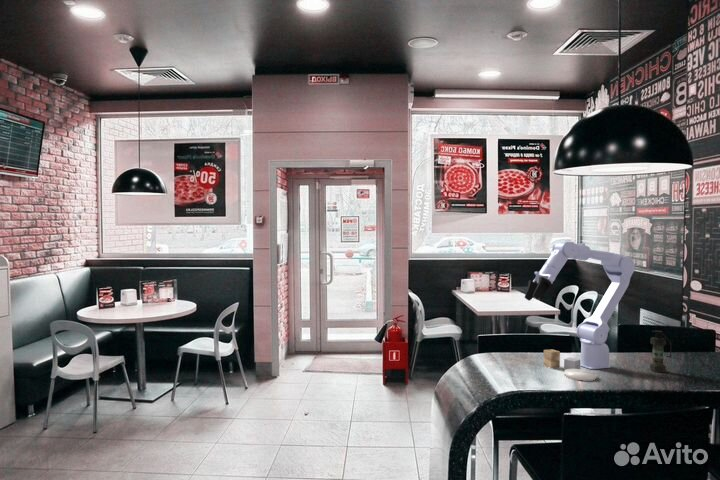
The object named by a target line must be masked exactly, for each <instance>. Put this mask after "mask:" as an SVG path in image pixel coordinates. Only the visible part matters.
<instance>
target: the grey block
mask: <svg viewBox="0 0 720 480" xmlns="http://www.w3.org/2000/svg"><path fill="white" fill-rule="evenodd" d="M580 363H581V359H578V358H573V357H567V358H563V370H564V371H565V370H566V369H581V366H580Z"/></svg>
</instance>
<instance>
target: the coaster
mask: <svg viewBox="0 0 720 480" xmlns="http://www.w3.org/2000/svg"><path fill="white" fill-rule="evenodd" d="M563 374H564V377H565V376H566V378H567V377H568V379H569V380H574V381H579V380H583V381H582V382H593V380H594V381H596V380H597V373H596V372H594V371H591V370H588V369H581V368H580V369H566V370H564V373H563ZM595 379H596V380H595Z"/></svg>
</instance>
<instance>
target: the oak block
mask: <svg viewBox="0 0 720 480" xmlns="http://www.w3.org/2000/svg"><path fill="white" fill-rule="evenodd" d="M544 365H545V366H547V367H546V368H548V367H550V368H549V369H551V368H553V369H560V368H559V367H561V352H560V351H559V350H555V349H543V366H544ZM545 366H544V367H545Z"/></svg>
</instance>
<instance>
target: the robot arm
mask: <svg viewBox="0 0 720 480" xmlns="http://www.w3.org/2000/svg"><path fill="white" fill-rule="evenodd" d="M551 250H552V251H551V252H550V254H549V255H550V256H549V257H548V259H547V260H546V261H545V263H544V264H543V266H542V267H541V269H540V270H539V271H534V275H535V278H534V279H533V280H531V279H530V280H528V283H527V284H528V285H527V289H526V292H525V295H524V299H526V300H527V301H528V302H530V301H531V300H532V299H533V298H535V299H536V300H539V299H540V298H542V297H543V296H544V295H545V294H546V293H547V292H548V291H550V290H551V289H553V288H555V286H554V284H553V283H554V281H555V280H556V278H557V276H558V275H559V273H560V271H561V270H562V269H563V267H564V266H565V264H566V262H567V261H568V260H569V259H572V260H579V261H585V262H586V261H587V260H589V259H593V260H597V261H601V262H600V265H602V267H603V269H604V272H605V273H606V276H607V277H608V279H609V280H610V281H611V283H610V285H609V286H608V288H607V290H606V291H605V293H604V295H602V296H603V297H602V298H601V300H600V302H599V303H598V305H597V307H596V308H595V311H593V314H592V315H590V316H589V317H586V318H585V319H584V320H583V322H581V323H580V324H578V326H577V328H576V335H577V337H578V338H579V341H580V345H581V346H580V367H583V368H586V369H589V370H599V369H600V370H601V369H609V368H610V369H611V368H612V367H611V365H610V348H609V346H608V344H606V341H607V339H608V333H609V332H610V326H609V324H608V321H609V320H610V319H611V316H612V315H613V313H614V311H615V309H616V308H617V306H618V304H619V302H620V301H621V300H622V297H623V296H624V294H625V292H626V291H627V289H628V287H629V285H630V282H631V277H632V276H633V274H634V272H635V271H636V265H635V262H634V260H633V258H632V257H630V256H624V255H623V254H619V253H614V252H608V251H602V250H594V249H591V248H590V246H588V245H586V243H582V242H580V243H575V242H574V241H558V242H556V243H554V244H553V245H552V248H551Z"/></svg>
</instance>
